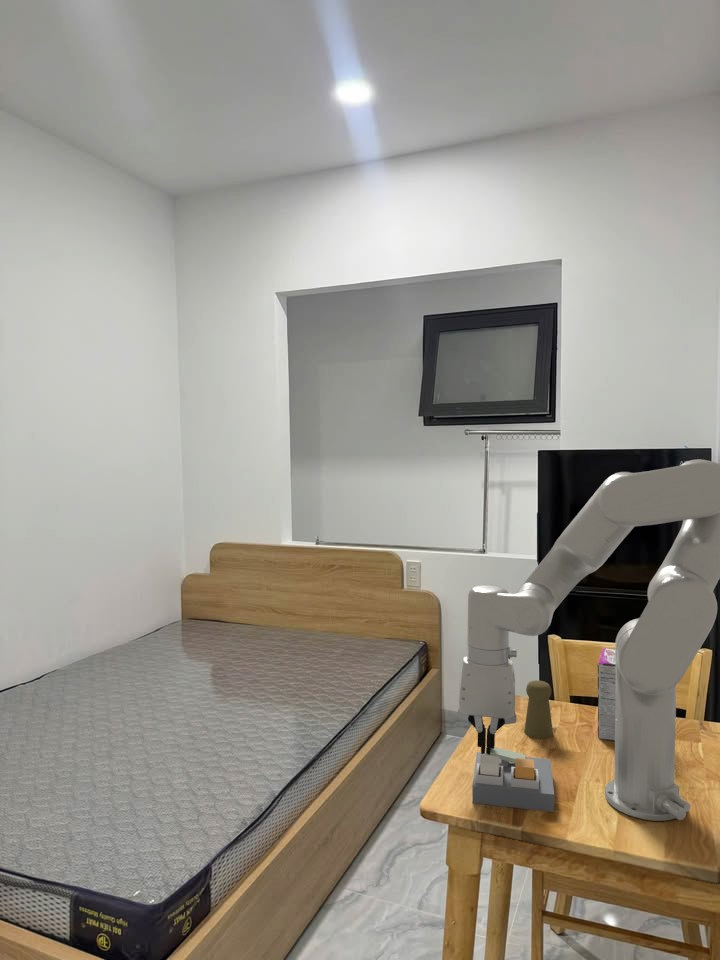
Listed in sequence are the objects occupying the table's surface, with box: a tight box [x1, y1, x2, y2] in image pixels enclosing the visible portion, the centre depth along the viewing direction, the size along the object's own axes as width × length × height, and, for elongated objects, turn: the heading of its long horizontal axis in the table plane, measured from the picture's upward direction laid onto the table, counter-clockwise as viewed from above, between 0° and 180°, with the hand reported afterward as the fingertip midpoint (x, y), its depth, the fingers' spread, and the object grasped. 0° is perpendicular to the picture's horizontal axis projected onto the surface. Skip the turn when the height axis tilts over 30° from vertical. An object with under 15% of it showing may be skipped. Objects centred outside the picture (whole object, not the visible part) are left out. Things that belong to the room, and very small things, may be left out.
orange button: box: [515, 758, 534, 779], centre depth 117 cm, size 3×3×2 cm
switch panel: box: [471, 751, 555, 813], centre depth 121 cm, size 14×13×4 cm
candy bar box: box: [597, 647, 616, 742], centre depth 144 cm, size 11×5×16 cm, turn 155°
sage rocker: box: [485, 746, 526, 763], centre depth 124 cm, size 7×3×1 cm, turn 77°
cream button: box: [480, 755, 499, 776], centre depth 119 cm, size 3×3×2 cm
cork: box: [523, 680, 554, 740], centre depth 144 cm, size 6×6×11 cm
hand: (485, 750), depth 125 cm, fingers closed
